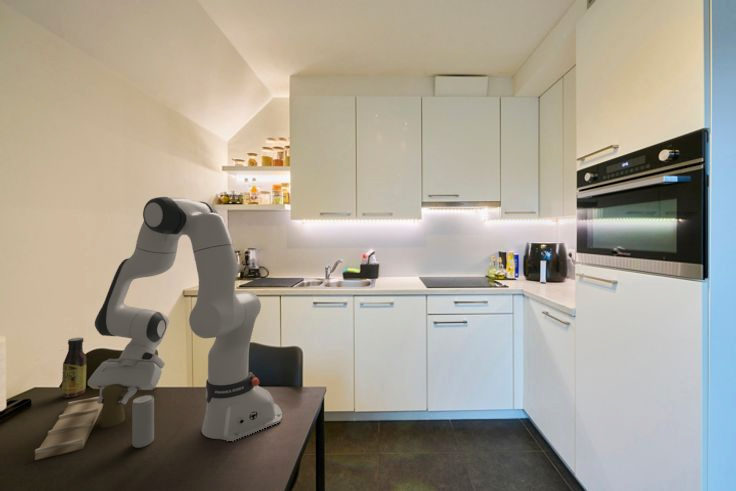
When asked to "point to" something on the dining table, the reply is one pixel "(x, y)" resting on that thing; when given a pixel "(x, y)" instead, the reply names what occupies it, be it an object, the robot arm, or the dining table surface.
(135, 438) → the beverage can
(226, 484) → the dining table surface
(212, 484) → the dining table surface
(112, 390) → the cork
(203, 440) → the dining table surface
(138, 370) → the robot arm
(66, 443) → the ledge board
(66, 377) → the sauce bottle
